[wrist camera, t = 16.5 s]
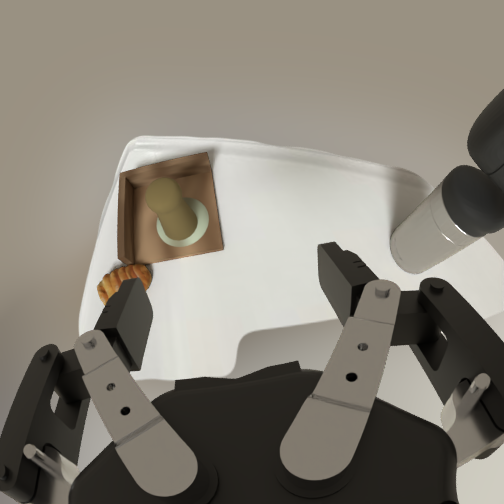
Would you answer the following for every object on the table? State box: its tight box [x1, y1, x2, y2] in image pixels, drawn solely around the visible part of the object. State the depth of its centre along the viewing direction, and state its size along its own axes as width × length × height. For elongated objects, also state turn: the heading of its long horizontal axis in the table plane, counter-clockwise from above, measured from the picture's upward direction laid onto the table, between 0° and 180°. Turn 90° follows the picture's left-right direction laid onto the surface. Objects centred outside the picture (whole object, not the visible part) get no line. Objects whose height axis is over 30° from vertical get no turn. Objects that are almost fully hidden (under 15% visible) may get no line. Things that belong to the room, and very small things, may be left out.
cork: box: [145, 177, 198, 241], centre depth 41 cm, size 6×6×11 cm
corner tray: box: [117, 152, 223, 265], centre depth 45 cm, size 16×16×5 cm
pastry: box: [97, 264, 152, 305], centre depth 42 cm, size 9×7×4 cm
